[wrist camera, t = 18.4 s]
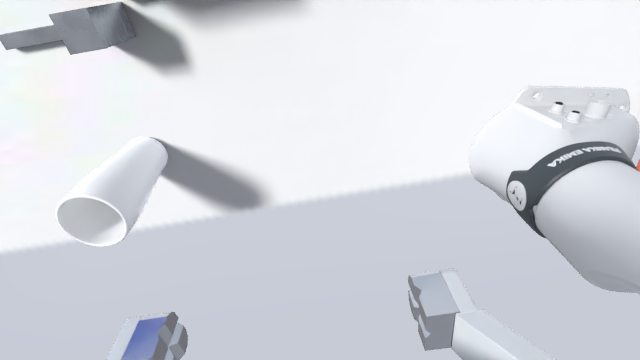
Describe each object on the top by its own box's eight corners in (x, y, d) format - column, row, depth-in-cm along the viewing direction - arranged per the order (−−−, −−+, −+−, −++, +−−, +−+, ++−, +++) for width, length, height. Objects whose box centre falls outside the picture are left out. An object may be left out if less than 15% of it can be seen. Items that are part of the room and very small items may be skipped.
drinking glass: (126, 122, 43) (54, 185, 30) (179, 140, 44) (133, 207, 32) (119, 163, 46) (52, 237, 33) (169, 179, 48) (123, 254, 35)
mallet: (121, 1, 35) (86, 7, 29) (135, 36, 37) (105, 48, 31) (-1, 23, 36) (-60, 34, 30) (19, 56, 38) (-32, 72, 32)
